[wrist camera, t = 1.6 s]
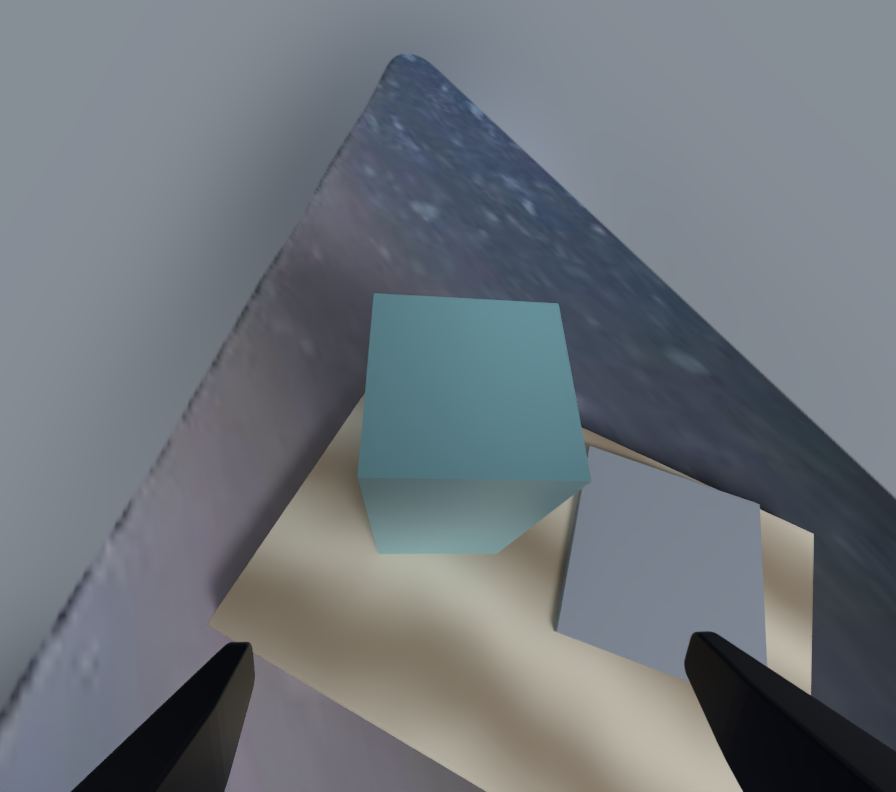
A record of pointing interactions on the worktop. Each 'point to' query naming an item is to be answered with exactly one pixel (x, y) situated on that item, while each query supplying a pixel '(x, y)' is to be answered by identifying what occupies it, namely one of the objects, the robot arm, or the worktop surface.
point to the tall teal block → (466, 423)
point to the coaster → (661, 566)
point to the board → (489, 644)
